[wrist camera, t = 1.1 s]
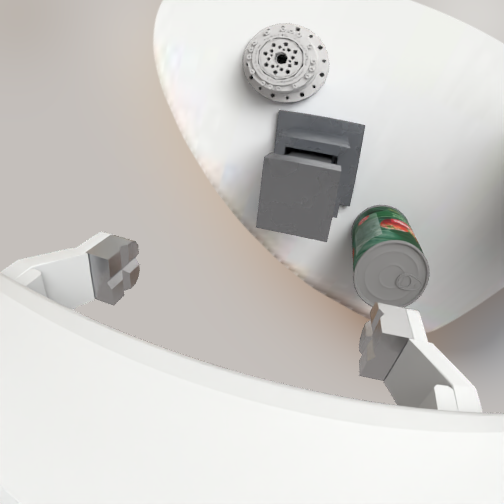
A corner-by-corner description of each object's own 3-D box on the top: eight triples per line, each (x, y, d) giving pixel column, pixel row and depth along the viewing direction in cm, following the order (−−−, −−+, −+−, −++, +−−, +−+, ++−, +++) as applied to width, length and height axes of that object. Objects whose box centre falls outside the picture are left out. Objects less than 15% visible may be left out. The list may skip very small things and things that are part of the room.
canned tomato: (343, 250, 41) (341, 297, 31) (363, 196, 37) (370, 229, 27) (396, 268, 40) (408, 318, 30) (419, 217, 36) (442, 256, 26)
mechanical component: (312, 114, 34) (341, 42, 29) (309, 115, 31) (341, 34, 26) (235, 87, 35) (261, 17, 30) (223, 86, 31) (251, 7, 26)
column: (340, 141, 34) (341, 171, 19) (333, 182, 36) (326, 242, 21) (297, 133, 34) (264, 157, 20) (291, 174, 37) (256, 227, 22)
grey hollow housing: (364, 124, 33) (375, 133, 23) (349, 203, 38) (351, 244, 27) (280, 109, 35) (255, 112, 24) (271, 188, 40) (243, 221, 29)
